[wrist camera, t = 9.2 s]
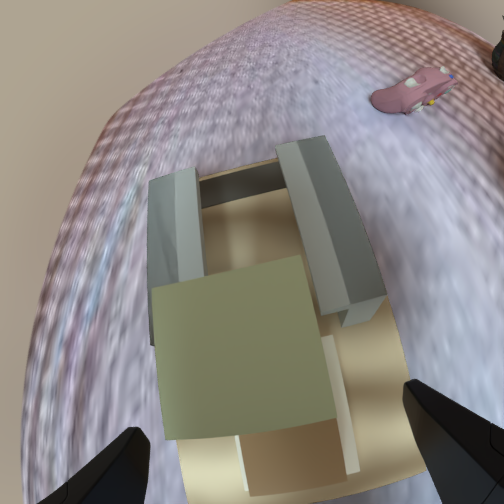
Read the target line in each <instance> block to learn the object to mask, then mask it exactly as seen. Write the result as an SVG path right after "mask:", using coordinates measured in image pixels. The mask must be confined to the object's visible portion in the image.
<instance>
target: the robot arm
mask: <svg viewBox="0 0 504 504" xmlns="http://www.w3.org/2000/svg"><path fill="white" fill-rule="evenodd" d="M402 401H403V406H404V409H405V412H406V415H407V418H408V421H409V424H410V427H411V430H412V433H413V437H414V440H415V442H416V445H417V447H418V449H419V451H420V453H421V456H422V458H423V460H424V462H425V464H426V467H427V469H428V471H429V473H430V476H431V478H432V480H433V482H434V485H435V487H436V489H437V492H438V494H439V496H440V499H441V501H442V504H504V429H502V428H500V427H498V426H497V425H495V424H493V423H491V422H489V421H488V420H486V419H484V418H482V417H481V416H479V415H477V414H475V413H474V412H472V411H470V410H469V409H467V408H465V407H463V406H462V405H460V404H458V403H456V402H455V401H453V400H451V399H450V398H448V397H446V396H444V395H443V394H441V393H439V392H438V391H436V390H434V389H433V388H431V387H429V386H427V385H426V384H424V383H422V382H421V381H419V380H417V379H412V380H409V381H406V382H405V383H404V385H403V397H402ZM149 460H150V442H149V440H148V438H147V437H146V435H145V434H144V433H143V431H142V430H141V429H140V428H139V427H128V428H127V429H126V430H125V431H124V432H122V433H121V434H120V435H119V436H118V437H117V438H116V439H115V440H114V441H112V442H111V443H110V444H109V445H108V446H107V447H106V448H105V449H103V450H102V451H101V452H100V453H99V454H98V455H97V456H96V457H94V458H93V459H92V460H91V461H90V462H89V463H88V464H86V465H85V466H84V467H83V468H82V469H81V470H79V471H78V472H77V473H76V474H75V475H74V476H72V477H71V478H70V479H69V480H68V482H65V483H64V484H63V485H62V486H61V487H59V488H58V489H57V490H56V491H54V492H53V493H52V494H50V495H49V496H47V497H46V498H45V499H43V500H42V501H40V502H39V503H37V504H144V500H145V495H146V489H147V483H148V475H149Z"/></svg>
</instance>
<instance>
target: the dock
mask: <svg viewBox="0 0 504 504" xmlns="http://www.w3.org/2000/svg"><path fill="white" fill-rule="evenodd" d="M275 149H276V154H277V157H278V160H279V164H280V167H281V170H282V174H283V177H284V180H285V184H286V187H287V190H288V194H289V197H290V201H291V204H292V208H293V211H294V215H295V218H296V222H297V225H298V229H299V233H300V236H301V240H302V244H303V247H304V251H305V255H306V259H307V262H308V266H309V270H310V274H311V278H312V282H313V286H314V290H315V293H316V298H317V302H318V306H319V310H320V314H321V316H323V315H327V314H331V313H335V312H338V316H339V320H340V324H341V328H343V327H347V326H351V325H355V324H358V323H362V322H366V321H369V320H370V319H371V318H372V317H373V315H374V314H375V312H376V311H377V309H378V308H379V306H380V305H381V303H382V302H383V300H384V299H385V297H386V296H387V291H386V288H385V285H384V282H383V279H382V276H381V273H380V270H379V267H378V264H377V261H376V258H375V255H374V253H373V250H372V247H371V244H370V242H369V239H368V236H367V233H366V231H365V228H364V225H363V223H362V220H361V218H360V215H359V213H358V210H357V208H356V205H355V203H354V200H353V198H352V195H351V193H350V191H349V188H348V186H347V183H346V181H345V179H344V177H343V174H342V172H341V170H340V167H339V165H338V163H337V161H336V158H335V156H334V154H333V152H332V150H331V148H330V145H329V143H328V141H327V139H326V137H325V135H324V136H319V137H313V138H308V139H303V140H299V141H294V142H289V143H285V144H280V145H276V146H275ZM204 276H208V270H207V261H206V251H205V242H204V231H203V221H202V210H201V198H200V186H199V174H198V172H197V170H196V168H195V167H191V168H188V169H185V170H181V171H178V172H175V173H171V174H168V175H165V176H162V177H159V178H156V179H153V180H150V181H149V189H148V215H147V288H148V314H149V332H150V345H152V346H155V343H154V329H153V312H152V289H151V288H155V287H159V286H164V285H169V284H173V283H178V282H182V281H187V280H191V279H196V278H200V277H204Z"/></svg>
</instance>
